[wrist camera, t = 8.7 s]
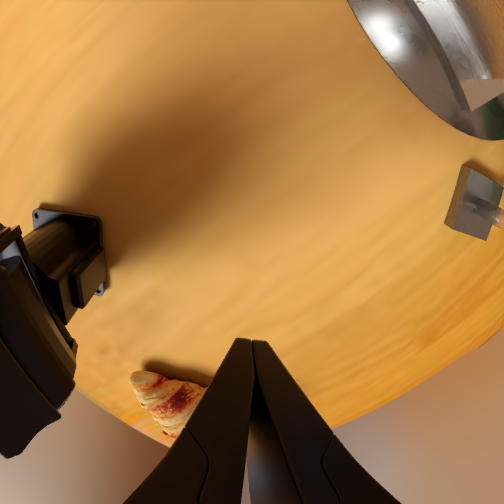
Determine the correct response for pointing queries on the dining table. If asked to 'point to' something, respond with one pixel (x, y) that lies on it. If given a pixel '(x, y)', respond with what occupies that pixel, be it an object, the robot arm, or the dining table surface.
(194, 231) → the dining table surface
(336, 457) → the robot arm
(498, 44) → the cover
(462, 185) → the rubber stamp
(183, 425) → the croissant
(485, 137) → the platter
